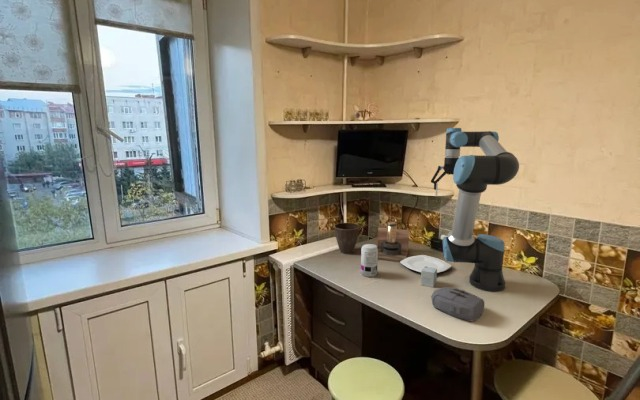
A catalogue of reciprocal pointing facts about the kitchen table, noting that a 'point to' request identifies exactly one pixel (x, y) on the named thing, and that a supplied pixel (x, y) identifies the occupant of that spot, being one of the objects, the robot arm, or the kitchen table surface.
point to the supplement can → (369, 260)
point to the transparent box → (400, 246)
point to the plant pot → (346, 236)
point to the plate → (425, 263)
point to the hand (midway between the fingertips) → (449, 196)
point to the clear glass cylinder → (391, 235)
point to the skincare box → (428, 276)
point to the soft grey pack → (458, 303)
